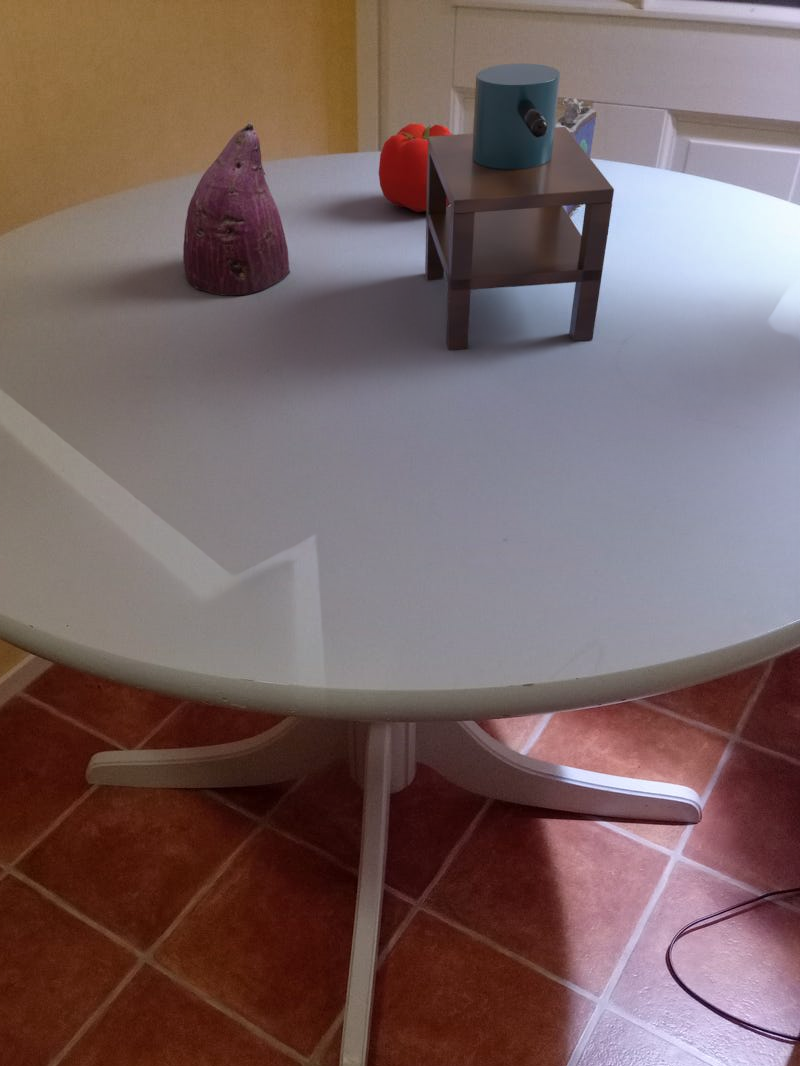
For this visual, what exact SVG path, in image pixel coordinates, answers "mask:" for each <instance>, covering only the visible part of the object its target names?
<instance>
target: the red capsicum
mask: <svg viewBox="0 0 800 1066" xmlns="http://www.w3.org/2000/svg"><path fill="white" fill-rule="evenodd" d="M444 135H453V133H451V131H450V130H449V128H448V127H446V126H443V125H440V124H434V125H431V124H429V126H427V127H425V125H423V124H422V123H409V124H407V125H405V126H403V127H402V128H401V129H400V130H399V131H397V133H396V134H393V135H391V136H390V137H389V138H388V139H386V140H385V142H384V143H383V146H382V149H381V152H380V155H379V166H378V179H379V187H380V190H381V193H382V195H383V196H384V198H385V199H386V200H388V202H390V203H391V204H393V205H395V206H397V207H400V208H408V209H410V210H411V211H414V212H415V213H422V212H426V205H427V153H428V137H430V136H444ZM449 206H451V205H450V202H449V200H448V198H447V204H446V207H449Z"/></svg>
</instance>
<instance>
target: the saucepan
mask: <svg viewBox="0 0 800 1066" xmlns="http://www.w3.org/2000/svg"><path fill="white" fill-rule="evenodd" d="M560 79H561V72H560V71H559V70H558V69H557V68H555V67H552V66H549V65H545V64H538V63H506V64H505V63H504V64H497V65H494V66H490V67H486V68H483V69H481V70H479V71H478V72H477V73H476V74H475V89H474V109H473V111H474V112H473V131H472V133H473V150H472V158H473V160H474V161H475V162H476V163H478V164H480V165H482V166H485V167H489V168H495V169H507V170H514V169H526V168H532V167H536V166H540V165H543V164H545V163H547V162H548V161H549V160H550V159H551V158H552V151H553V141H554V131H555V124H556V122H557V121H556V119H557V111H558V99H559V92H560V90H559V89H560Z"/></svg>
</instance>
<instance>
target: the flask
mask: <svg viewBox="0 0 800 1066" xmlns="http://www.w3.org/2000/svg"><path fill="white" fill-rule="evenodd" d="M565 103H566V106H567V108H565V111H564V112H563V116H561V117H560V118H559V119H558V120H557V121H556V122H555V127H566V128H567V129H568V131H569V132H570V133H571V135H572V136H573V137H574V138H575V140H576V141H577V142H578V143H579V145H580V146H581V147H582V149H583V150H584V151H585V152H586V154H587V155H588V156H589V158H590V159H591V152H592V146H593V140H594V134H595V133H594V132H595V126H596V120H597V110H596V109H595V108H593V107H591V106H590V105H587V106H583V104H584V101H582V100H581V101H578V99H577V98H576V97H574V98H572V97H570V96H567V97H565V98H564V99H563V100H562V106H565ZM581 206H582V205H569V206H563V208H564V209H565V211H566V212H567V214H568V215H569V217H570V218H572V216H574V213H575V210H576V211H578V207H581Z"/></svg>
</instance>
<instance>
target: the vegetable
mask: <svg viewBox="0 0 800 1066" xmlns="http://www.w3.org/2000/svg"><path fill="white" fill-rule="evenodd" d="M261 152H262V151H261V143H260V139H259V136H258V133H257V131H256V130H255V128H254V125H253V123H252V122H251V121H249V122H248V123H247V125H246V126H244V127H243V128H241V129H240V130H238V131H236V132H235V134H233V136H232V137H231V138H230V140H229V141H228V142H227V143H226V145H225V147H224V148H223V149H222V150H221V152H220V153H219V155H218V156H217V158H215V160H214V161H213V163H212V164H211V165H210V166H209V167H208V168H207V169H206V171H205V172H204V173H203V175H202V176H201V178H200V179H199V181H198V184H197V186H196V188H195V189H194V192H193V195H192V197H191V198H190V201H189V204H188V207H187V214H186V219H185V224H184V236H183V245H182V247H183V249H182V255H183V256H182V257H183V267H184V273H185V277H186V280H187V283H189V284H190V285H191V286H193V287H194V288H195V289H196V290H197V291H198V290H201V291H203V292H206V293H207V292H208V293H211V294H215V295H219V296H243V295H244V296H245V295H250V294H254V293H257V292H261V291H264V290H266V289H268V288H270V287H271V286H273V285H276V284H277V283H279V282H282V281H284V279H285V278H287V276H288V275H290V273H291V270H290V262H289V250H288V249H289V248H288V244H287V240H286V236H285V231H284V225H283V223H282V218H281V215H280V211H279V208H278V207H277V204H276V202H275V199H274V197H273V195H272V193H271V190H270V188H269V184H268V183H267V181H266V173H265V169H264V167H263V164H262V153H261Z"/></svg>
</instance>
